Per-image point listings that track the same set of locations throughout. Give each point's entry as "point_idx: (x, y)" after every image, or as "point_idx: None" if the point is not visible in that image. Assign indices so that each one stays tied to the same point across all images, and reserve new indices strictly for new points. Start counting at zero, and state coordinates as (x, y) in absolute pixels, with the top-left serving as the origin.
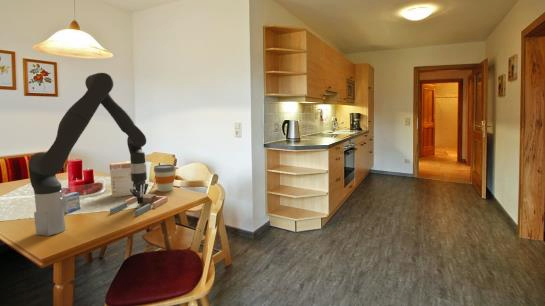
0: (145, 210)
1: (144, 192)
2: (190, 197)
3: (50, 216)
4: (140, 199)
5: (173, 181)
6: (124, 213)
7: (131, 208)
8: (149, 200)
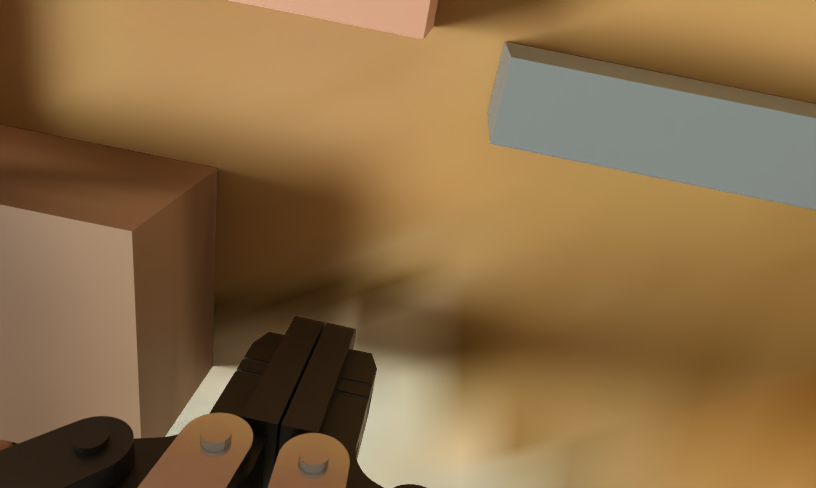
0: (745, 92)
1: (89, 474)
2: None
3: None
4: (332, 408)
5: None
6: (757, 439)
7: (472, 421)
8: (172, 221)
